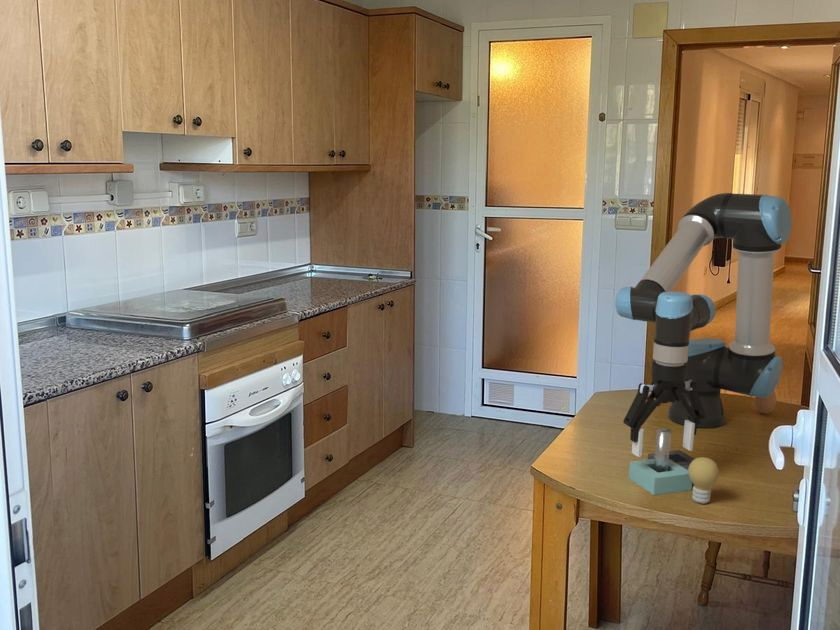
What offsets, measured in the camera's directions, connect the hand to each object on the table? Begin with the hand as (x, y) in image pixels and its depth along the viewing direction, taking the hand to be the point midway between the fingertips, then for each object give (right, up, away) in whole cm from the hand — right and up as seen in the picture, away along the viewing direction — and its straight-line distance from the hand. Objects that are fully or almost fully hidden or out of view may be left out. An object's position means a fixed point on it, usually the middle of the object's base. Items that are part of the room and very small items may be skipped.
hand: (662, 451), depth 191 cm
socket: (0, -8, +2) cm, 8 cm away
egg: (+45, +2, +53) cm, 70 cm away
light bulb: (+6, -10, -7) cm, 14 cm away
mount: (+6, -6, +11) cm, 14 cm away
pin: (0, -8, +2) cm, 8 cm away
